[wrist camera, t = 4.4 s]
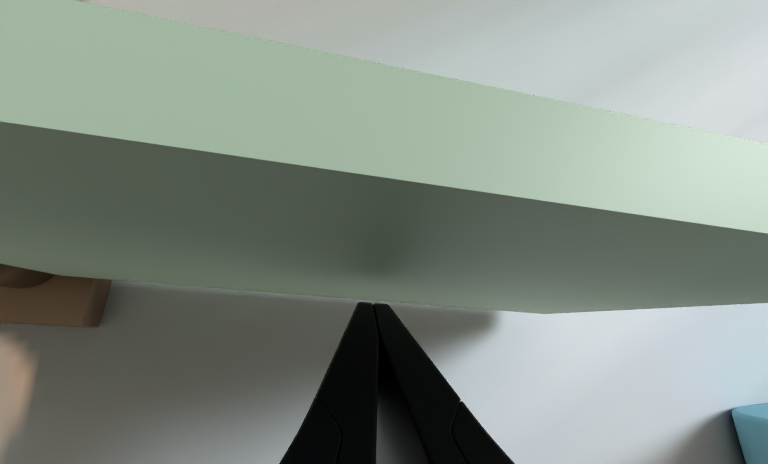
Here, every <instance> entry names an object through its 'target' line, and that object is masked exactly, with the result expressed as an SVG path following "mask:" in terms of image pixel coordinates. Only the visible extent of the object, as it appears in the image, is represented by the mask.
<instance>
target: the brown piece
mask: <svg viewBox="0 0 768 464" xmlns="http://www.w3.org/2000/svg"><path fill="white" fill-rule="evenodd" d="M111 281H112V280H110V279H97V278H84V277H72V276H61V275H56V274H51V273H46V272H40V271H35V270H30V269H25V268H20V267H15V266H10V265H5V264H0V322H4V323H22V324H40V325H57V326H75V327H98V326H99V322H100V319H101V315H102V312H103V308H104V305H105V301H106V298H107V294H108V291H109V288H110V284H111Z"/></svg>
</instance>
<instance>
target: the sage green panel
mask: <svg viewBox="0 0 768 464" xmlns="http://www.w3.org/2000/svg"><path fill="white" fill-rule="evenodd" d="M0 264H5V265H10V266H15V267H20V268H25V269H30V270H35V271H40V272H46V273H51V274H56V275H61V276H72V277H84V278H97V279H110V280H122V281H135V282H148V283H160V284H173V285H185V286H198V287H211V288H223V289H236V290H249V291H261V292H274V293H287V294H299V295H312V296H324V297H337V298H350V299H362V300H375V301H388V302H400V303H413V304H425V305H438V306H451V307H463V308H476V309H489V310H501V311H514V312H526V313H539V314H552V313H572V312H592V311H612V310H632V309H652V308H672V307H692V306H712V305H732V304H752V303H768V144H766V143H761V142H756V141H751V140H746V139H742V138H737V137H732V136H727V135H722V134H718V133H713V132H708V131H703V130H698V129H693V128H689V127H684V126H679V125H674V124H669V123H664V122H660V121H655V120H650V119H645V118H640V117H636V116H631V115H626V114H621V113H616V112H611V111H607V110H602V109H597V108H592V107H587V106H582V105H578V104H573V103H568V102H563V101H558V100H553V99H549V98H544V97H539V96H534V95H529V94H525V93H520V92H515V91H510V90H505V89H500V88H496V87H491V86H486V85H481V84H476V83H471V82H467V81H462V80H457V79H452V78H447V77H442V76H438V75H433V74H428V73H423V72H418V71H414V70H409V69H404V68H399V67H394V66H389V65H385V64H380V63H375V62H370V61H365V60H360V59H356V58H351V57H346V56H341V55H336V54H331V53H327V52H322V51H317V50H312V49H307V48H303V47H298V46H293V45H288V44H283V43H278V42H274V41H269V40H264V39H259V38H254V37H249V36H245V35H240V34H235V33H230V32H225V31H221V30H216V29H211V28H206V27H201V26H196V25H192V24H187V23H182V22H177V21H172V20H167V19H163V18H158V17H153V16H148V15H143V14H138V13H134V12H129V11H124V10H119V9H114V8H110V7H105V6H100V5H95V4H90V3H85V2H81V1H76V0H0Z"/></svg>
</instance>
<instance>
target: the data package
mask: <svg viewBox="0 0 768 464" xmlns="http://www.w3.org/2000/svg"><path fill="white" fill-rule="evenodd" d="M732 417H733V420H734V424H735V427H736V431H737V434H738V437H739V441H740V444H741V448H742V451H743V455H744V458H745V462H746V464H768V403H764V404H757V405H750V406H743V407H737V408H735V409H733V410H732Z"/></svg>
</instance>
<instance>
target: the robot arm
mask: <svg viewBox="0 0 768 464" xmlns="http://www.w3.org/2000/svg"><path fill="white" fill-rule="evenodd" d="M460 400H461V399H460V398H459V396H458V395H457V394H456V392H455V391H454V390H453V388H452V387H451V386H450V385H449V383H448V382H447V381H446V379H445V378H444V377H443V375H442V374H441V373H440V371H439V370H438V369H437V368H436V366H435V365H434V364H433V362H432V361H431V360H430V358H429V357H428V356H427V354H426V353H425V352H424V351H423V349H422V348H421V347H420V345H419V344H418V343H417V341H416V340H415V339H414V337H413V336H412V335H411V334H410V332H409V331H408V330H407V328H406V327H405V326H404V324H403V323H402V322H401V321H400V319H399V318H398V317H397V315H396V314H395V313H394V311H393V310H392V309H391V307H390V306H389V305H387V304H379V303H375V304H372V303H367V302H359V303H358V304H357V306H356V308H355V310H354V312H353V315H352V317H351V319H350V321H349V323H348V326H347V328H346V330H345V332H344V334H343V337H342V339H341V341H340V343H339V345H338V348H337V350H336V352H335V354H334V356H333V358H332V361H331V363H330V365H329V367H328V369H327V372H326V374H325V376H324V378H323V380H322V383H321V385H320V387H319V389H318V391H317V394H316V396H315V398H314V400H313V402H312V404H311V406H310V409H309V411H308V413H307V415H306V417H305V419H304V421H303V423H302V425H301V427H300V429H299V431H298V433H297V434H296V436H295V438H294V440H293V441H292V443H291V445H290V447H289V448H288V450H287V452H286V453H285V455H284V457H283V458H282V460H281V462H280V463H279V464H515V463H514V462H513V461H512V460H511V459H510V458H509V457H508V456H507V455H506V454H505V452H504V451H503V450H502V449H501V448H500V447H499V446H498V444H497V443H496V442H495V441H494V440H493V439H492V438H491V436H490V435H489V434H488V433H487V432H486V431H485V429H484V428H483V427H482V426H481V424H480V423H479V422H478V421H477V419H476V418H475V417H474V416H473V414H472V413H471V412H470V410H469V409H468V408H467V407H466V405H465V404H464V403H463V402H462V401H461V402H460Z"/></svg>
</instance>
